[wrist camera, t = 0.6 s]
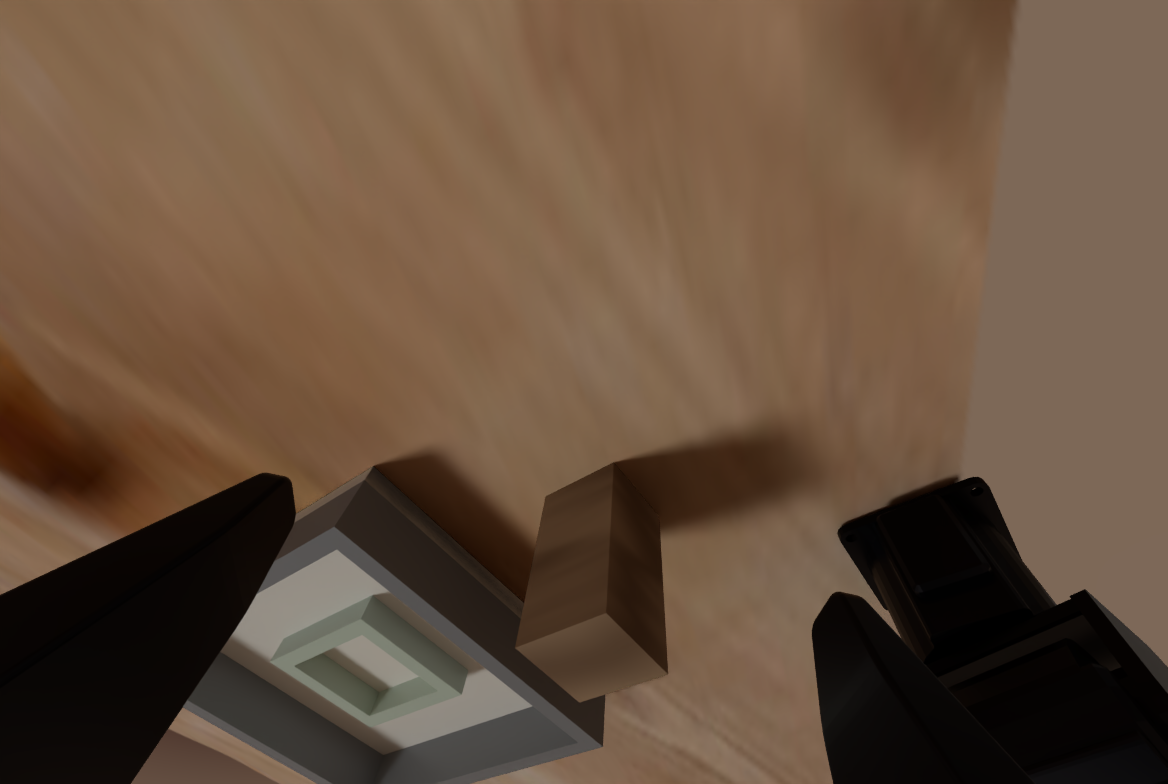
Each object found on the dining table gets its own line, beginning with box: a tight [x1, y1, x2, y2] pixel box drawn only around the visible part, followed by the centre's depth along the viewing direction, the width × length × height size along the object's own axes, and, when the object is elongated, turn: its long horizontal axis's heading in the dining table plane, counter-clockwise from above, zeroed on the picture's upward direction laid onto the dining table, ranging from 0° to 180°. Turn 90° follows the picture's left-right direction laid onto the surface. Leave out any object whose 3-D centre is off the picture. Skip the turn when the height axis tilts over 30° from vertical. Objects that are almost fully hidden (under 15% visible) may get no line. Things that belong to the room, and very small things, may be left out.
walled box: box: [183, 466, 605, 784], centre depth 32 cm, size 20×20×4 cm
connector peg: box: [515, 463, 668, 703], centre depth 23 cm, size 4×4×8 cm
